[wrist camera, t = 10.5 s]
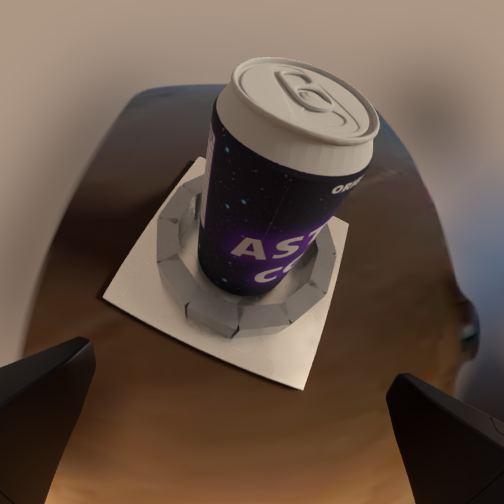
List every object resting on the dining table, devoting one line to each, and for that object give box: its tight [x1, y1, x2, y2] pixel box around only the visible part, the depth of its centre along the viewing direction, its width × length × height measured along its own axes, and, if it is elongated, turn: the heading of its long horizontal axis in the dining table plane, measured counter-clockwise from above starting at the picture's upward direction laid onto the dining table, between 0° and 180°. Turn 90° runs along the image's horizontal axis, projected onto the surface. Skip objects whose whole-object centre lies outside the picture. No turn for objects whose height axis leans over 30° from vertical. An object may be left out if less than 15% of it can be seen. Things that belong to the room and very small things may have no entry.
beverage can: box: [197, 57, 380, 296], centre depth 13 cm, size 6×6×12 cm
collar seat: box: [103, 157, 349, 390], centre depth 17 cm, size 13×13×3 cm
